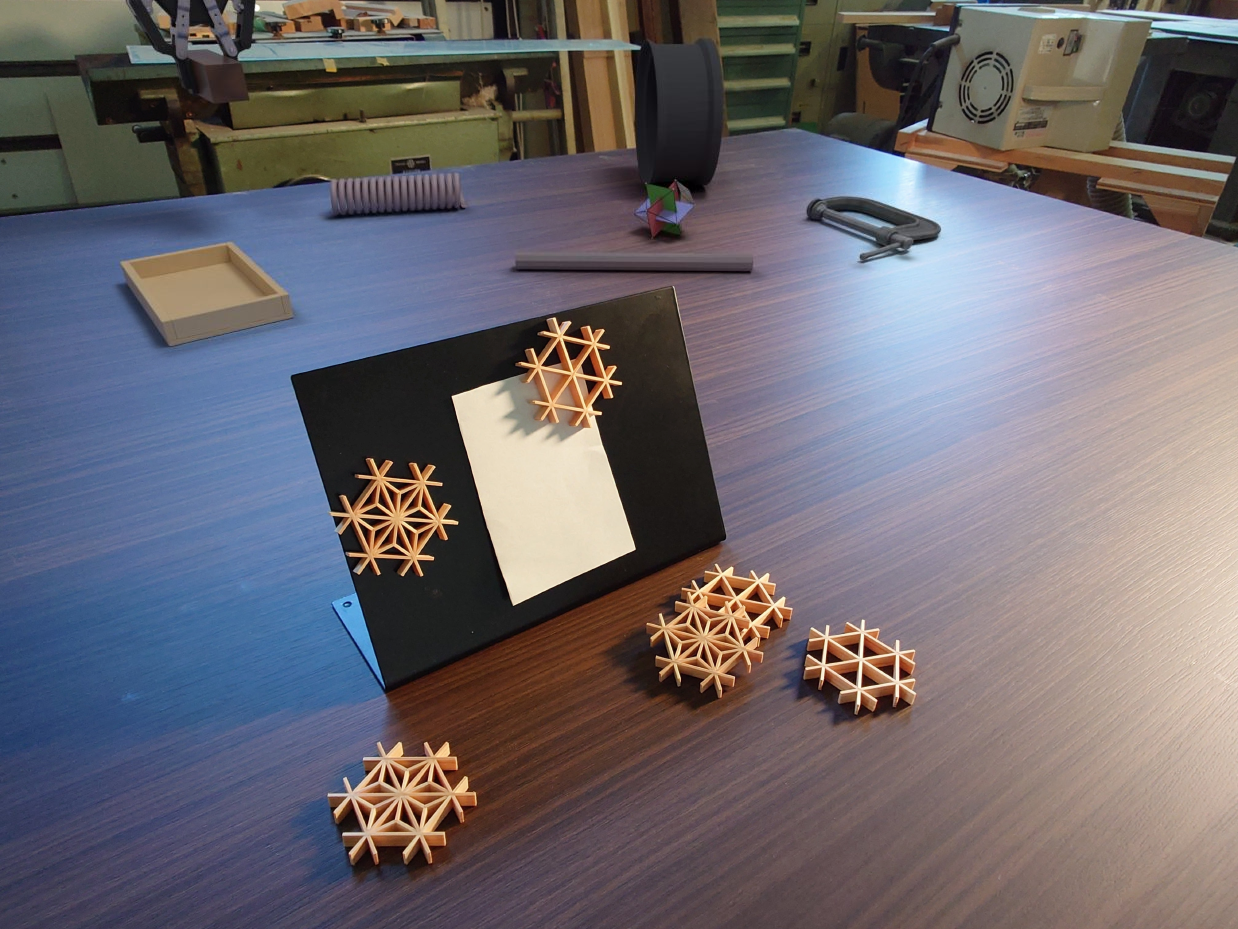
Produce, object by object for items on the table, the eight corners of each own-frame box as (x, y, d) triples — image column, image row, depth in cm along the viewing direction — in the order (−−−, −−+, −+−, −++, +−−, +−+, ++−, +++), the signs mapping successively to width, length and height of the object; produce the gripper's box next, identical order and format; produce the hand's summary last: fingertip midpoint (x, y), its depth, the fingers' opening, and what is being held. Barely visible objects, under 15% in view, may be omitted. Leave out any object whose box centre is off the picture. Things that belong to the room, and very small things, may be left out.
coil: (325, 186, 105) (465, 179, 109) (326, 174, 109) (461, 167, 112) (332, 221, 108) (468, 212, 112) (333, 207, 112) (464, 200, 115)
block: (213, 103, 92) (204, 64, 90) (182, 86, 101) (172, 50, 99) (249, 100, 94) (241, 62, 92) (215, 83, 103) (207, 48, 101)
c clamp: (970, 244, 102) (975, 222, 101) (862, 263, 96) (866, 240, 95) (865, 202, 117) (868, 183, 116) (766, 216, 111) (768, 196, 110)
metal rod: (752, 273, 93) (753, 256, 92) (515, 271, 92) (514, 254, 91) (749, 267, 94) (751, 251, 93) (517, 265, 94) (516, 249, 93)
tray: (169, 346, 75) (161, 321, 74) (126, 283, 88) (119, 261, 87) (294, 317, 81) (288, 293, 80) (237, 262, 94) (231, 241, 93)
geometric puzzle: (662, 233, 98) (687, 171, 98) (617, 221, 101) (641, 161, 101) (685, 255, 104) (709, 197, 104) (642, 244, 107) (665, 187, 107)
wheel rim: (716, 201, 117) (728, 47, 106) (655, 203, 116) (660, 47, 105) (687, 167, 134) (695, 30, 122) (633, 168, 132) (635, 30, 121)
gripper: (231, -79, 94) (264, 82, 104) (93, -82, 87) (142, 92, 96) (251, -78, 89) (283, 91, 99) (107, -81, 82) (157, 101, 91)
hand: (213, 90), depth 97 cm, fingers closed on block, 4 cm apart
